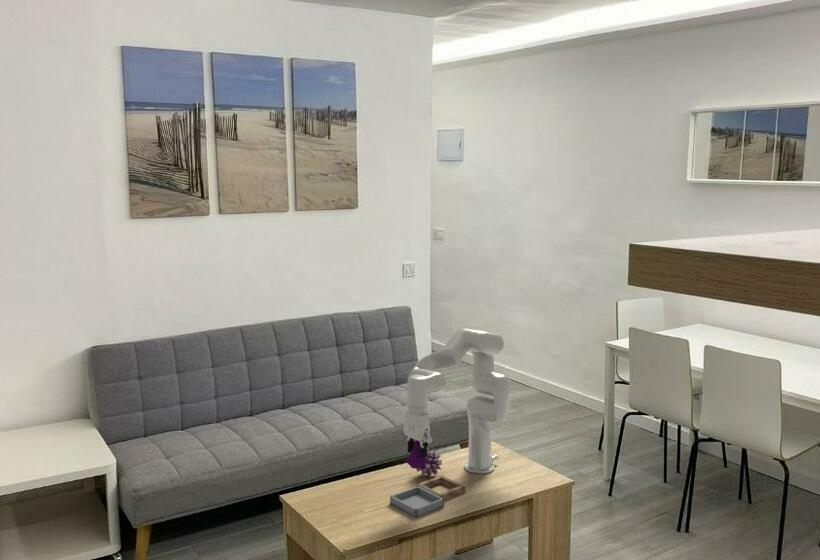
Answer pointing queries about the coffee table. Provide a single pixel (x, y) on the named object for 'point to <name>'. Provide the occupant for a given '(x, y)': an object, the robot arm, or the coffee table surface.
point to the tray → (417, 501)
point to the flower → (431, 464)
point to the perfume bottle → (416, 457)
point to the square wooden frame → (448, 482)
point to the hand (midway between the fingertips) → (417, 453)
